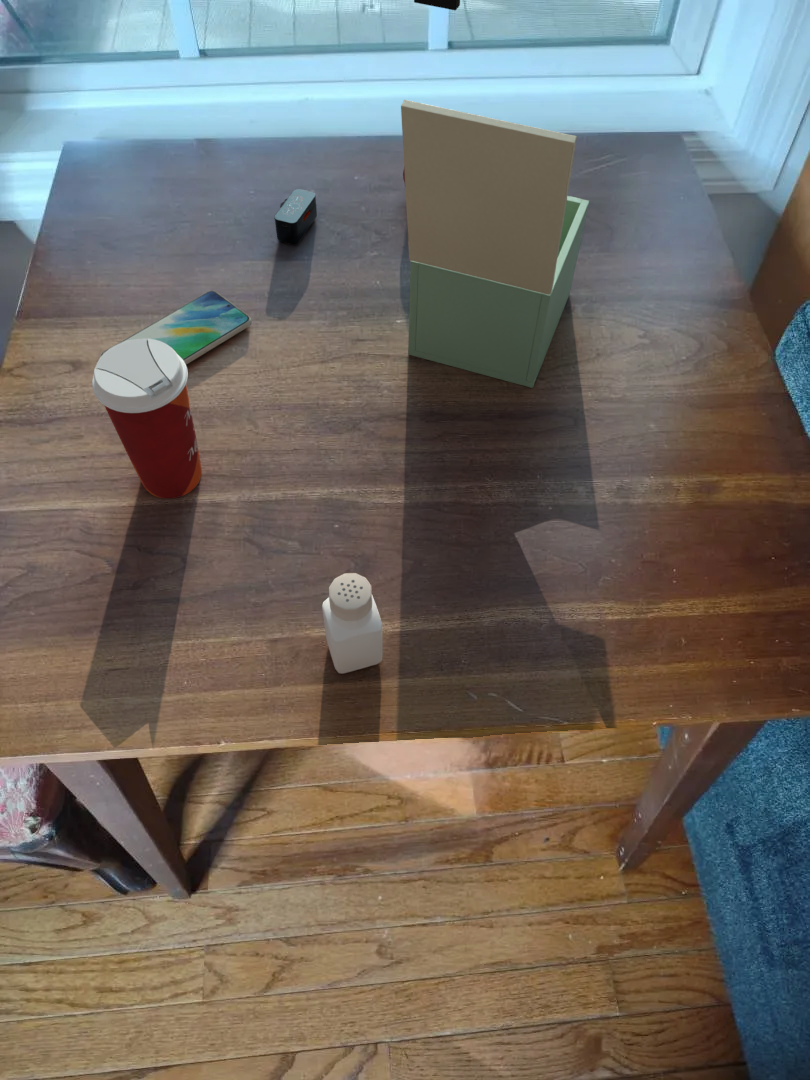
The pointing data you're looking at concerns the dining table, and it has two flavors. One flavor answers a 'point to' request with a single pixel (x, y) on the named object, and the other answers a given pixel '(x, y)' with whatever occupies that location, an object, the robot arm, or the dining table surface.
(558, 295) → the case
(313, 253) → the dining table surface
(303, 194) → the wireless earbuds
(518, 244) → the cover
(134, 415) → the paper cup
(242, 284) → the dining table surface
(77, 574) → the dining table surface
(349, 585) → the pepper shaker
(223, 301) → the smartphone
